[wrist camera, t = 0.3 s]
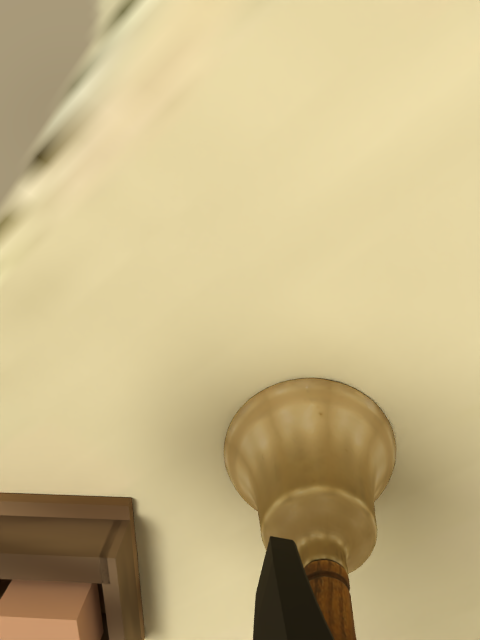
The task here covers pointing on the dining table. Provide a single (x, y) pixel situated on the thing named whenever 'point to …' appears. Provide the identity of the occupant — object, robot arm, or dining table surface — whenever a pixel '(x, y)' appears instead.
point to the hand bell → (315, 479)
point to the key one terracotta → (50, 611)
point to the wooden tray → (76, 551)
